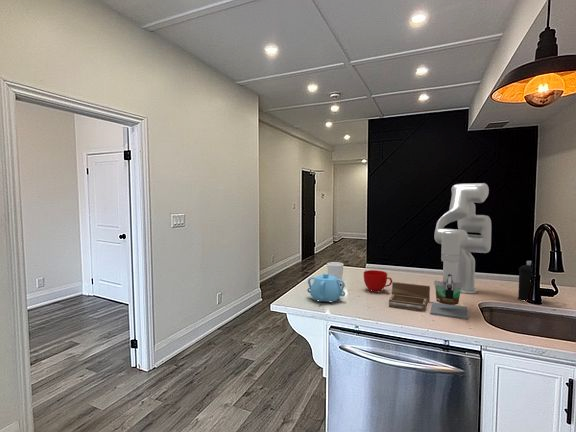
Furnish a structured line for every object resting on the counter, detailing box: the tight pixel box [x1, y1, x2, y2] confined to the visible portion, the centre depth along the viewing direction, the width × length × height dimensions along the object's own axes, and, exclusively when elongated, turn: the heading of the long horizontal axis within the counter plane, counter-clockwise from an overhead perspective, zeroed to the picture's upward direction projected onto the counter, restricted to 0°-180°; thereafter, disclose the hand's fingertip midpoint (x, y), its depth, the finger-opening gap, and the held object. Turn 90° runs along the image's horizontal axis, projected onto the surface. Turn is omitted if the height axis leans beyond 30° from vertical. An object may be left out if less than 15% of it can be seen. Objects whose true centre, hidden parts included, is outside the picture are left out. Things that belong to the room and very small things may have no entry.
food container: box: [433, 279, 463, 305], centre depth 148 cm, size 12×6×10 cm, turn 77°
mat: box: [429, 301, 469, 321], centre depth 149 cm, size 16×15×1 cm
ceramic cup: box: [363, 269, 393, 292], centre depth 181 cm, size 13×17×10 cm
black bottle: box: [517, 260, 532, 301], centre depth 163 cm, size 8×8×20 cm
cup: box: [326, 261, 344, 285], centre depth 195 cm, size 10×10×13 cm
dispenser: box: [388, 281, 431, 312], centre depth 159 cm, size 17×18×8 cm
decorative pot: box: [306, 272, 346, 302], centre depth 167 cm, size 16×16×14 cm
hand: (449, 296), depth 148 cm, fingers closed on food container, 6 cm apart
